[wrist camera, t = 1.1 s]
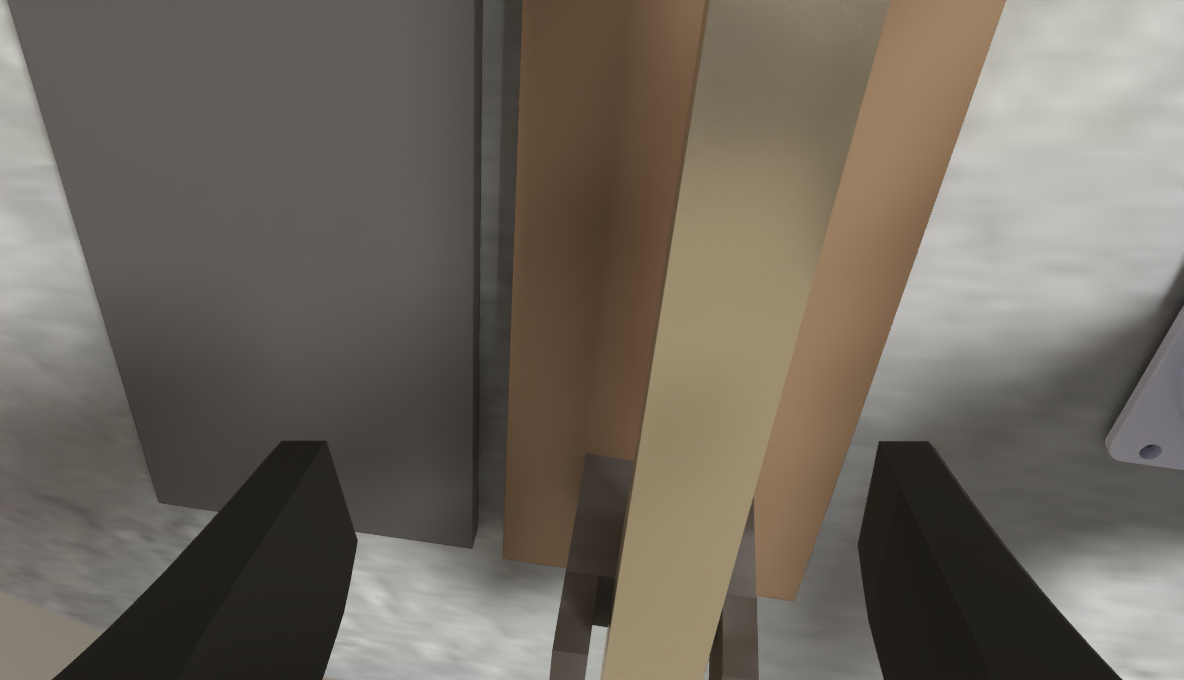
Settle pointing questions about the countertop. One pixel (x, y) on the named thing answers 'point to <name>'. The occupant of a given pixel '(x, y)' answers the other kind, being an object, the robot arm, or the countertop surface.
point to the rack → (634, 272)
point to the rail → (731, 307)
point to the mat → (282, 235)
